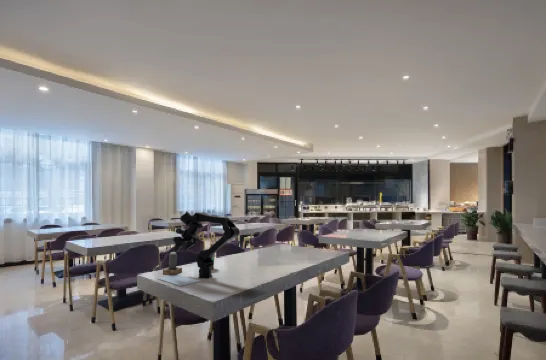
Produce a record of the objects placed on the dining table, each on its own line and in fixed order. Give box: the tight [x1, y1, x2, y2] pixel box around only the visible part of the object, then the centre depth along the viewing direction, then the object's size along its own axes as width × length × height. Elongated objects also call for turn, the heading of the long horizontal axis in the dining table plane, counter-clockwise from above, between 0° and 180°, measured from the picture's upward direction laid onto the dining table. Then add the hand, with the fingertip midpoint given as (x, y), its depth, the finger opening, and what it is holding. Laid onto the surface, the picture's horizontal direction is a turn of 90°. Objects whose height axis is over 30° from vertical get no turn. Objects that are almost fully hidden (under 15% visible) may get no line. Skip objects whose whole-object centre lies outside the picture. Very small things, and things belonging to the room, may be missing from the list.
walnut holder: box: [162, 266, 183, 275], centre depth 197 cm, size 8×8×2 cm
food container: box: [205, 253, 216, 270], centre depth 208 cm, size 12×6×10 cm, turn 168°
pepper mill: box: [168, 251, 178, 270], centre depth 197 cm, size 4×4×12 cm
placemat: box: [157, 274, 201, 287], centre depth 177 cm, size 24×13×1 cm, turn 48°
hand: (180, 250), depth 194 cm, fingers open, 9 cm apart
